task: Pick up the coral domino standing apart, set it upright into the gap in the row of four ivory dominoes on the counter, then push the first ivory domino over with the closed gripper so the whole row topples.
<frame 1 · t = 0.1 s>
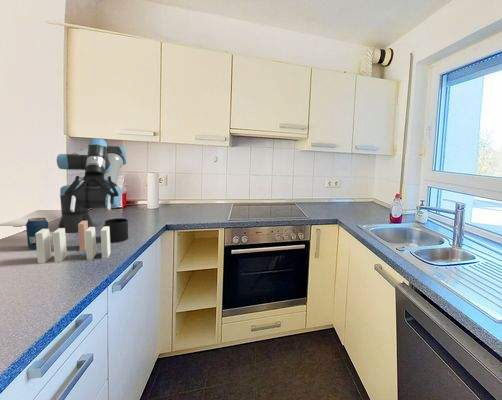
hand: (90, 210, 109), 15 cm above the worktop, tool tilted 35°, fingers open, 13 cm apart
soda can: (39, 248, 106), on the worktop
domino 3: (91, 256, 99), on the worktop
domino 4: (106, 255, 101), on the worktop
domino 2: (61, 258, 96), on the worktop
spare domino: (84, 247, 108), on the worktop
domino 1: (44, 259, 94), on the worktop
mug: (114, 239, 121), on the worktop
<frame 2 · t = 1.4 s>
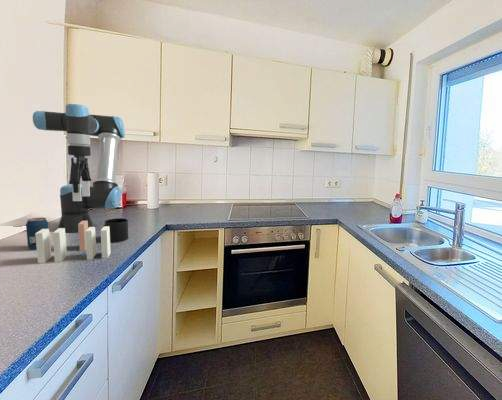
hand: (81, 198, 105), 21 cm above the worktop, tool pointing down, fingers open, 13 cm apart
nothing on the worktop moved.
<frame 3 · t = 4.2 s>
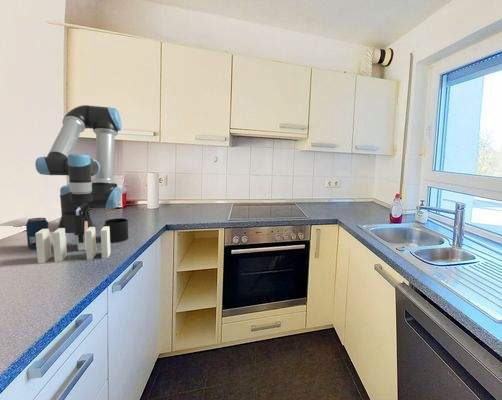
hand: (84, 246, 108), 0 cm above the worktop, tool pointing down, fingers closed on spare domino, 6 cm apart
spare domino: (84, 247, 108), on the worktop, touching gripper
everything else where it was.
when the fingers open (1 cm above the worktop, at t = 9.0 s): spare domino stays where it is, on the worktop.
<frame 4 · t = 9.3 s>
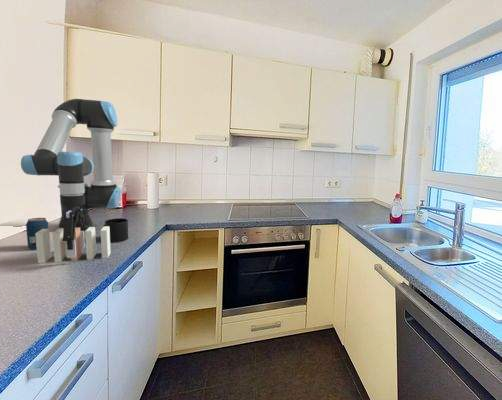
hand: (76, 252, 97), 2 cm above the worktop, tool pointing down, fingers open, 10 cm apart
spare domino: (76, 257, 98), on the worktop
everything else where it was.
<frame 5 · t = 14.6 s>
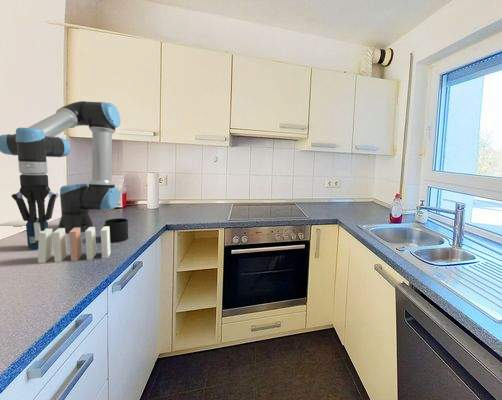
hand: (39, 239, 93), 8 cm above the worktop, tool pointing down, fingers closed
domino 1: (44, 259, 94), on the worktop, tilted 5°, touching gripper
everything else where it was.
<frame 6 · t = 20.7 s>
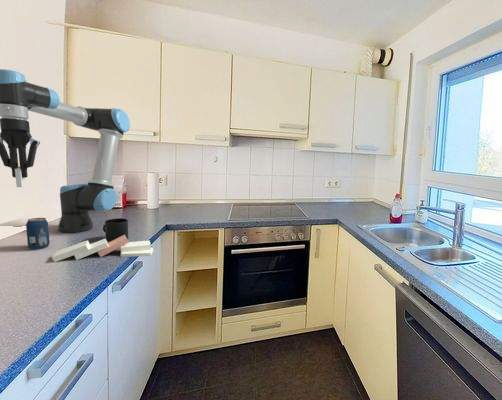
hand: (21, 186, 93), 26 cm above the worktop, tool pointing down, fingers closed
domino 3: (121, 247, 104), point 2 cm above the worktop, tilted 90°, touching domino 4, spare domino
domino 4: (122, 253, 103), on the worktop, tilted 90°, touching domino 3
domino 2: (75, 255, 98), point 1 cm above the worktop, tilted 71°, touching domino 1, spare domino
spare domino: (98, 252, 101), point 1 cm above the worktop, tilted 66°, touching domino 2, domino 3
domino 1: (55, 256, 95), point 1 cm above the worktop, tilted 72°, touching domino 2
everything else where it was.
at the end: domino 4 tilted 90°; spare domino tilted 66°; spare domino inside the target area (1.6 cm from its centre), point 0.9 cm above the worktop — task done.
